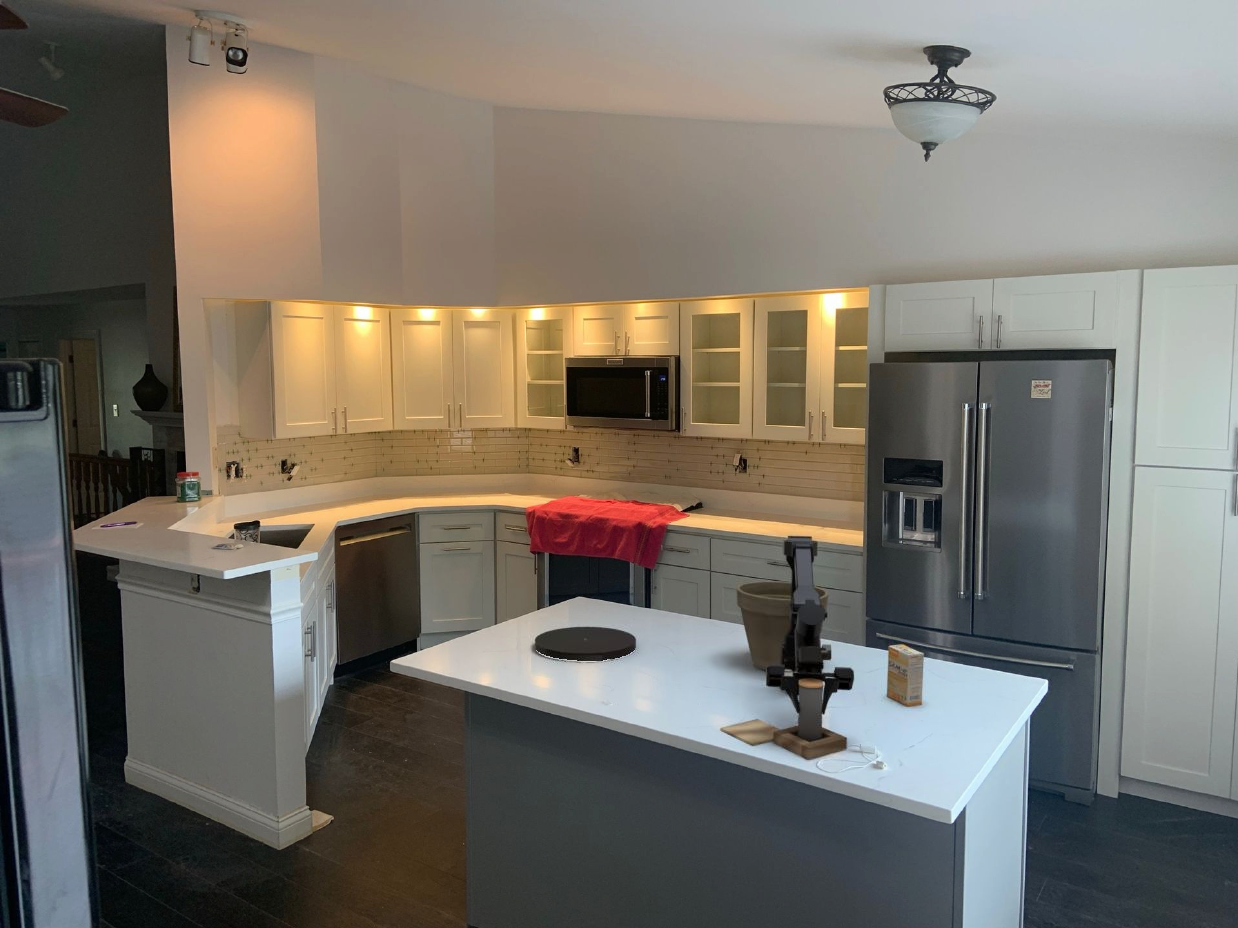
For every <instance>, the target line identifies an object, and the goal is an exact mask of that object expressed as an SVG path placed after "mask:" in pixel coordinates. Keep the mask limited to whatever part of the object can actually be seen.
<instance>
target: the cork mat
mask: <svg viewBox="0 0 1238 928" xmlns="http://www.w3.org/2000/svg"><path fill="white" fill-rule="evenodd" d="M719 730H720V731H722V732H723V733H725V734H728V735H730V736H732V737H733V738H735V737H736V738H735V739H737V740H739V741H741V742H743V743H745V744H748V745H749V746H752V747H753V746H757V745H762V744H765V743H769V742H773V732H774V731H778V730H781V728H779V727H776V726H775V725H772V724H770V723H767V722H765V721H763V720H761V719H759V718H755V719H750V720H747V721H743V722H740V723H739V722H738V723H735V724H731V725H727V726H723V727H720V729H719Z"/></svg>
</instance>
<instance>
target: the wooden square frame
mask: <svg viewBox="0 0 1238 928" xmlns="http://www.w3.org/2000/svg"><path fill="white" fill-rule="evenodd" d="M780 729H781V728H780ZM772 743H773V744H775V745H777V746H779V747H780V748H784V749H785V750H788V751H790V752H792V753H793V754H795V755H798V756H800V757H802V758H804V757H805V758H804V759H807V760H809V761H810V760H813V759H816V757H817V758H821V757H824V756H826V755H831V754H834V753H838V752H841V751H845V750H847V747H848V746H847V745H848V737H846V736H845V735H842V734H839V733H837V732H835V731H832V730H830V729H828V728H825V727H824V726H822V739H820V740H816V741H813V742H808V741H806V740H803V739H801V738H799V737H798V724H797V725H794V726H790V727H787V728H782V729H781V730H778V731H774V732H773V741H772Z"/></svg>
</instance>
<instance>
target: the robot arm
mask: <svg viewBox="0 0 1238 928" xmlns="http://www.w3.org/2000/svg"><path fill="white" fill-rule="evenodd" d="M818 543H819V542H818V541H817V540H813V537H812V536H810V535H787V539H783V540H782V554H783V556H784V560H785V562H786V564H787V566H788V567H789V569H790V582H791V603H790V604H789V618H790V619H791V626H790V629H789V630H788V632H787V634H786V635H785V637H784V644H782V647H781V665H777V664H769V665H768V666H767V669H766V670H765V685H766V687H769V688H779V689H780V691H785V693H786V695H787V696H788V698H789V699H790V701H791V703H792V705H793V708H794V709H795V712H796V714H799V680H800V679H805V678H812V679H818V680H821V681H823V683H824V684H823V701H822V716H823V715H825V714H826V710H827V707H828V704H829V701H830V699H831V696H832V695H833V694H837V693H838V691H851V690H853V686H854V681H855V672H854V670H853V668H852V667H845V666H835V667H834V670H833V671H834V672H823V670H824V667H825V666H824V664H825V663H824V661H831V659H832V645H831V644H822V643H821V640H822V639H821V634H822V631H823V625H824V622H825V620H826V619H828V612H827V610H825V608H824V607H823V604H821V603H820V595H819V594H818V593H817V592H816V591H815V589H814V586H815V584H814V573H813V563H814V562H815V557H818ZM784 660H786V661H784Z"/></svg>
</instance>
